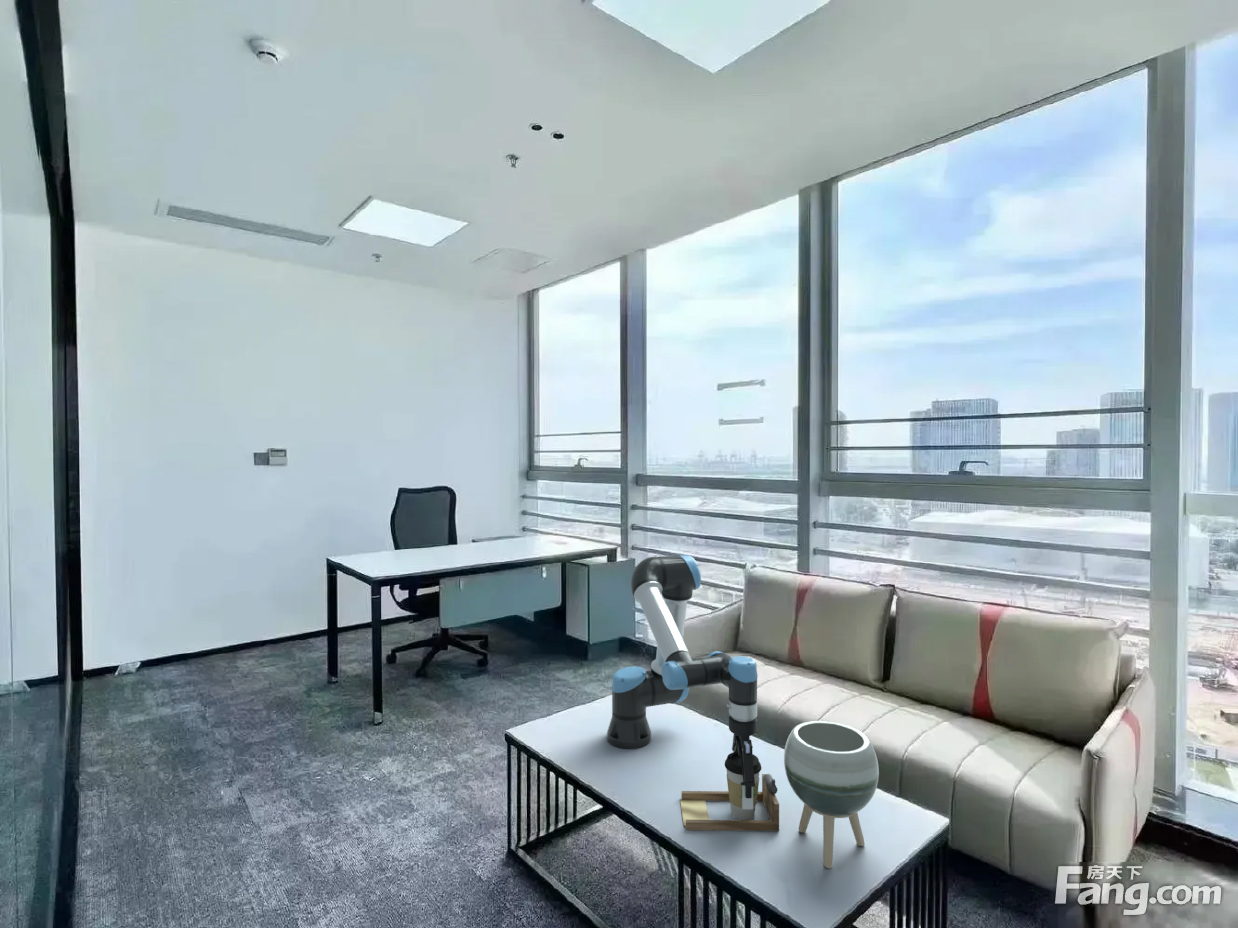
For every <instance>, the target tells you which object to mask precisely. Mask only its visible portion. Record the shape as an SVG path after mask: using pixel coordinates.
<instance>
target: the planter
mask: <svg viewBox="0 0 1238 928" xmlns="http://www.w3.org/2000/svg"><path fill="white" fill-rule="evenodd" d="M878 762H879V761H878V756H877V754H876V751H875V748H874V746H873V744H872V743H871V741H870V739H869V737H868V736H867V735H866V734H865V733H864V732H862V731H860V730H858V729H857V728H855V727H853V726H851V725H847V724H844V723H840V722H835V721H828V720H812V721H811V720H810V721H804V722H802V723H798V724H797V725H795V726H794V727H793V728H792V730H791V731H790V733H789V734H788V737H787V740H786V742H785V746H784V753H783V765H784V766H783V767H784V771H785V775H786V779H787V780H788V783H789V786H790V787H791V789H792V791H793V792H794V794H795V795H796V797H798V799H799V800H800V801H801V802H802V803H803V809H802V812H801V817H800V819H799V826H798V832H800V833H802V834H803V833H806V832H807V829H808V826H809V824H810V820H811V818H812V815H813V813H816V814H818V815H821V816H822V826H823V827H822V830H823V833H822V834H823V837H822V838H823V839H822V841H823V842H822V846H823V847H822V849H823V850H822V851H823V852H822V853H823V857H822V858H823V859H822V860H823V862H822V864H823V867H824V868H826V869H831V868H832V867H833V858H834V857H833V856H834V840H835V839H834V838H835V836H834V835H835V819H846V818H848V820H849V823H850V826H851V829H852V832H853V835H854V839H855V842H856V844H857V845H858V846H859V847H864V846H865V845H866V844H865V837H864V833H863V831H862V826H861V822H860V818H859V814H858V813H859V812H860V811H861V810H863V809H864V808H865V807H866V806H868V804H869V803H870V801H871V800H872V799H873V798H874V795H875V793H876V791H877V787H878V783H879V776H880V771H879V763H878Z"/></svg>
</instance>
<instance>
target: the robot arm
mask: <svg viewBox="0 0 1238 928" xmlns="http://www.w3.org/2000/svg"><path fill="white" fill-rule="evenodd" d="M698 564H699V563H698V562H697V561H696V560H695V558H694V557H693V556H691V555H683V554H682V555H681V554H678V555H666V556H665V555H664V556H651V557H650V556H649V557H647V558H645V559H642V560H641V561H640V562H639V563H638V564H637V565H636V566H635V568H634V569H633V572H632V574H631V579H630V591H631V593H632V596H633V598H634V600H635V602H636V603H638V604H640V607H641V609H642V612H643V615H644V616H645V618H646V621H647V623H648V625H649V628H650V630H651V632H652V634H653V637H654V640H655V642H656V644H657V645H656V657H655V659H654V660H652V661H651V664H650V665H651V666H650V670H646V669H645V668H643V667H642V666H634V665H633V666H627V667H623V668H621V669H619V670H616V672H615V673H614V674H613V676H612V680H611V681H612V683H611V700H612V701H611V702H612V703H611V704H612V705H611V708H612V709H611V713H612V714H611V719H610V720H609V721H610V723H609V725H608V728H607V732H606V740H607V742H608V743H609V744H610V745H612V746H613V747H616V748H621V749H626V750H628V749H629V750H630V749H639V748H643V747H645V746H647V745H649V743H650V742H651V741H652V731H651V727H650V725H649V721H648V718H647V708H648V707H653V706H654V707H657V706H661V705H662V706H663V705H668V704H671V705H672V704H673V705H674V704H676V703H680V702H682V701H684V700H685V699H686V698H687V697H688V694H689V691H690V688H697V687H705V686H712V685H719V684H720V685H721V684H722V685H724V686H725V687H726V688H728V702H729V703H726V708H728V715H729V716H728V729H729V730H728V731H730V733H732V734H733V737H732V747H731V750H732V752H738V755H739V757H740V758H741V766H742V775H743V782H741V785H742V808H743V809H753V787H755V779H754V767H753V755H754V754H753V753H754V752H753V747H754V746H753V742H752V739H750V738H751V736H753V735H755V734H756V733H757V732H758V719H757V717H758V675H759V674H758V670H757V669H758V667H757V662H756V660H755V659H753V658H752V657H748V656H743V655H736V656H733V657H732V656H730V654H727V653H725V652H722V651H719V650H717V651H716V650H715V651H712V652H711V653H709V654H708V655H707V656H704V657H696V658H692V656H691V653H690V652H689V649H688V647H687V645H686V643H685V640H684V635H685V634H684V633H685V625H686V623H685V622H686V615H687V606H688V605H687V603H688V601H690V600H691V599H692V598H693V591H697V590H698V589H699V588H700V587H701V583H702V577H701V570H700V567H699V565H698Z"/></svg>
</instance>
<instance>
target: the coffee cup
mask: <svg viewBox="0 0 1238 928" xmlns="http://www.w3.org/2000/svg"><path fill="white" fill-rule="evenodd" d="M724 767H725V769H726V781H727V791H728V792H729V801H728V802H729V803H730V812H731V816H732V817H733V818H734V819H735V820H754V818H755V813H756V805H757V802H758V801H757V794H758V792H759V783H760V772H761V771H762V764H761V762H760V759H759V758H758V756H757V755H755V754H753V767H754V779H755V787H753V809H743V808H742V785H741V782H743V775H742V766H741V758H740V757H739V755H738V752H734V751H732V752H731V753H729V754H728V755H727V757H726V759H725V760H724Z"/></svg>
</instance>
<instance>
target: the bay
mask: <svg viewBox="0 0 1238 928" xmlns="http://www.w3.org/2000/svg"><path fill="white" fill-rule="evenodd" d="M776 793H778V788H777V785H776V779H775V778H773V776H772V774H769V773H766V774H765V773H762V774H761V791H758V794H757V802H763V805H764V807H765V810H766V812H767V815H768V818H769V820H761V819H760V820H759V819H751V820H738V819H734V820H733V819H710V816H709V811H708V807H707V803H706V801H707V802H709V801H712V802H713V801H714V802H715V801H717V802H718V801H721V802H722V801H723V802H725V801H726V802H730V801H729V792H728V790H726V791H723V790H722V791H720V790H718V791H717V790H715V791H714V790H713V791H712V790H709V791H708V790H682V791H681V799H680V800H679V802H680V809H681V817H682V824H683V827H684V828H685V829H686V830H685V831H745V832H746V831H748V832H749V831H754V832H755V831H756V832H757V831H758V832H769V831H770V832H779V831H780V803H779V800H778V799H777V796H776Z"/></svg>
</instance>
